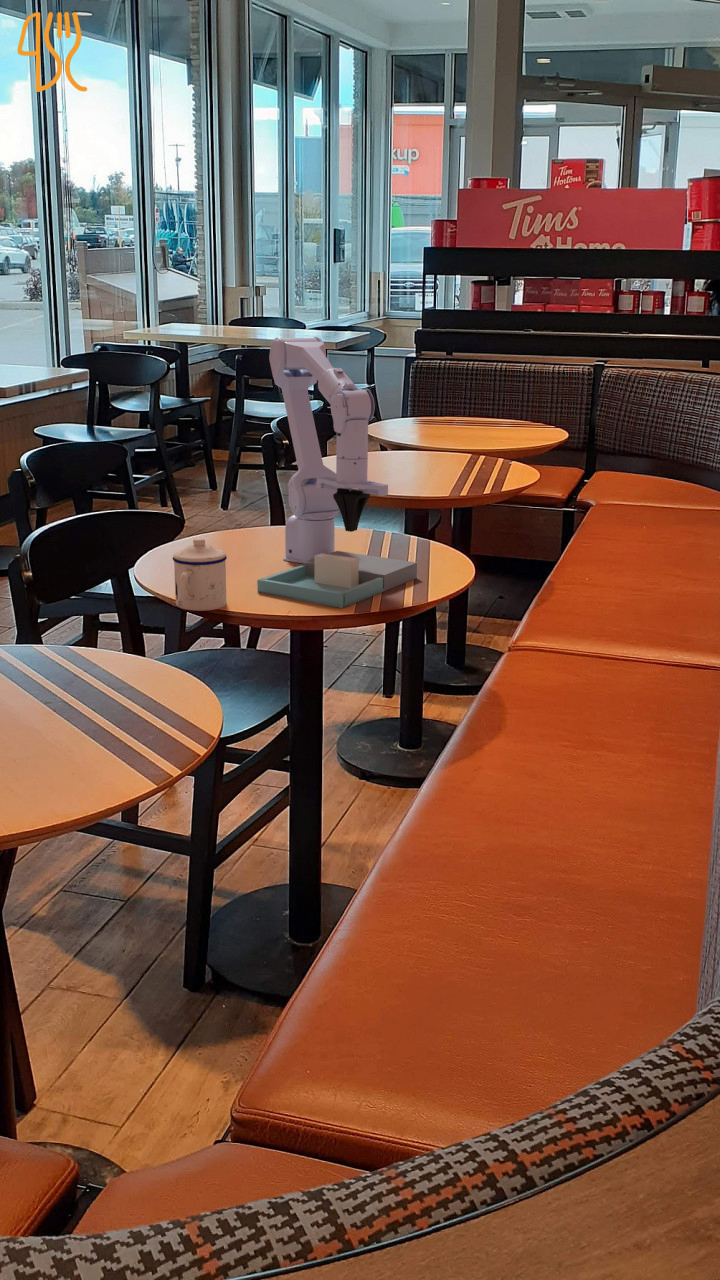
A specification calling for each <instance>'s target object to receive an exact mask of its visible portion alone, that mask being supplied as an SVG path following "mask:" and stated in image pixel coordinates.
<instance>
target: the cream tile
mask: <svg viewBox="0 0 720 1280" xmlns="http://www.w3.org/2000/svg"><path fill="white" fill-rule="evenodd" d="M314 563H315V583H321V584H327V585H333V586H339V587H345V588H353V587H355V586H358V585H359V559H356V558H350V557H343V556H336V555H330V554H323V553H322V554H319V555H315V556H314Z"/></svg>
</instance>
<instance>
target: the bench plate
mask: <svg viewBox="0 0 720 1280" xmlns="http://www.w3.org/2000/svg"><path fill="white" fill-rule="evenodd" d="M329 554H330V555H336V556H343V557H350V558H356V559H359V585H360V584H363V583H366V582H368V581H371V580H373V579H376V578H383V589H384V592H386V591H388V590H391V589H394V588H396V587H398V586H400V585H403V584H405V583H408V582H410V581H414V580H416V579H417V578H418V562H417V561H415V562H414V561H408V560H403V559H396V558H389V557H382V556H375V555H368V554H362V553H355V552H348V551H341V550H334V552H332V553H329ZM301 564H302V566H305V576H311V577H315V563H314V559H311V560H308V561H305V562H302V563H301Z"/></svg>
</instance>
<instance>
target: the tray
mask: <svg viewBox="0 0 720 1280" xmlns="http://www.w3.org/2000/svg"><path fill="white" fill-rule="evenodd" d="M256 582H257V583H256V584H257V593H261V594H266V595H272V596H275V597H280V598H286V599H290V600H296V601H300V602H306V603H310V604H314V603H316V604H315V605H320V604H321V606H326V605H327V607H331V606H332V608H337V607H339V608H338V609H344V608H346V607H345V606H347V607H349V606H352V605H354V604H356V603H359V602H362V601H364V600H366V599H369V598H371V597H374V596H376V595H379V594H381V593H384V592H385V591H384V589H383V578H376V579H373V580H371V581H368V582H366V583H363V584H360V585H358V586H355V587H353V588H345V587H339V586H333V585H327V584H321V583H315V577H311V576H305V566H302V565H297V566H295V567H291V568H289V569H288V568H287V569H286V570H283V571H280V572H276V573H273V574H271V575H268V576H265V577H261V578H258V579H257V581H256ZM351 604H352V605H351ZM348 605H349V606H348ZM343 607H344V608H343Z"/></svg>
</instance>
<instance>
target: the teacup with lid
mask: <svg viewBox="0 0 720 1280" xmlns="http://www.w3.org/2000/svg"><path fill="white" fill-rule="evenodd" d="M192 542H193V544H190V545H188V546H186V547H185V548H183V549H180V550H177V551H175V552H174V553H173V556H172V560H173V565H174V566H173V567H174V568H173V569H174V590H175V594H174V595H175V605H176V607H178V608H180V609H182V610H187V611H188V610H189V611H199V612H200V611H201V612H202V611H203V612H204V611H213V610H219V609H221V608H224V607H225V606H226V605H227V575H226V574H227V572H226V570H227V569H226V568H227V567H226V560H227V558H228V557H227V554H226V553H225V551H224V550H222V549H218V548H216V547H214V546H212V545H211V544H206V540H205V539H204V538H201V537H200V538H199V537H198V538H194V539H193V541H192Z"/></svg>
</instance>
